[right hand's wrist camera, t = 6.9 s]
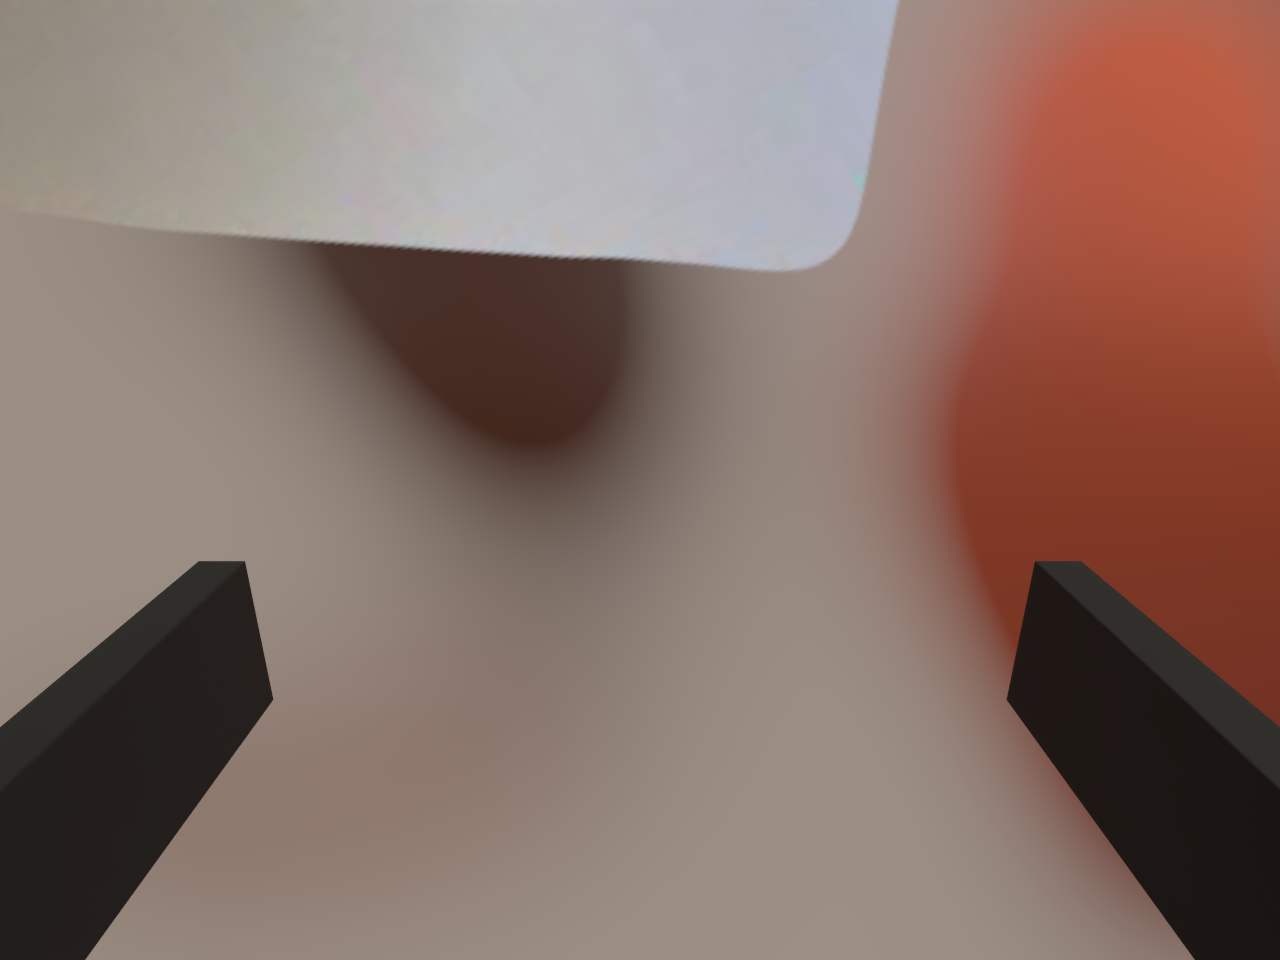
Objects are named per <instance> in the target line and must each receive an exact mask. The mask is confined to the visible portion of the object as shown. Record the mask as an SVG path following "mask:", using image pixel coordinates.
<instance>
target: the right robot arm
mask: <svg viewBox="0 0 1280 960" xmlns="http://www.w3.org/2000/svg"><path fill="white" fill-rule="evenodd" d="M272 701H273V696H272V691H271V686H270V681H269V677H268V672H267V667H266V662H265V657H264V652H263V647H262V642H261V637H260V633H259V628H258V623H257V618H256V613H255V608H254V603H253V598H252V594H251V589H250V584H249V579H248V574H247V569H246V564H245V561H199V562H197V563H196V564H195V565H194V566H193V567H192V568H190V569H189V570H188V571H187V572H185V573H184V574H183V575H182V576H181V577H180V578H178V579H177V580H176V581H175V582H174V583H172V584H171V585H170V586H169V587H168V588H166V589H165V590H164V591H163V592H162V593H160V594H159V595H158V596H157V597H156V598H154V599H153V600H152V601H151V602H150V603H148V604H147V605H146V606H145V607H144V608H142V609H141V610H140V611H139V612H138V613H136V614H135V615H134V616H133V617H132V618H130V619H129V620H128V621H127V622H126V623H124V624H123V625H122V626H121V627H120V628H119V629H117V630H116V631H115V632H114V633H113V634H111V635H110V636H109V637H108V638H107V639H105V640H104V641H103V642H102V643H101V644H99V645H98V646H97V647H96V648H95V649H93V650H92V651H91V652H90V653H89V654H87V655H86V656H85V657H84V658H83V659H81V660H80V661H79V662H78V663H77V664H75V665H74V666H73V667H72V668H71V669H69V670H68V671H67V672H66V673H65V674H63V675H62V676H61V677H60V678H59V679H57V680H56V681H55V682H54V683H53V684H51V685H50V686H49V687H48V688H47V689H45V690H44V691H43V692H42V693H41V694H40V695H38V696H37V697H36V698H35V699H34V700H32V701H31V702H30V703H29V704H28V705H26V706H25V707H24V708H23V709H22V710H20V711H19V712H18V713H17V714H16V715H14V716H13V717H12V718H11V719H10V720H8V721H7V722H6V723H5V724H4V725H2V726H1V727H0V960H85V959H86V958H87V956H88V955H89V954H90V952H91V951H92V949H93V948H94V947H95V945H96V944H97V943H98V941H99V940H100V938H101V937H102V936H103V934H104V933H105V932H106V930H107V929H108V927H109V926H110V925H111V923H112V922H113V920H114V919H115V918H116V916H117V915H118V914H119V912H120V911H121V909H122V908H123V907H124V905H125V904H126V903H127V901H128V900H129V898H130V897H131V896H132V894H133V893H134V891H135V890H136V889H137V887H138V886H139V884H140V883H141V882H142V880H143V879H144V877H145V876H146V875H147V873H148V872H149V871H150V869H151V868H152V867H153V865H154V864H155V862H156V861H157V860H158V858H159V857H160V856H161V854H162V853H163V851H164V850H165V849H166V847H167V846H168V844H169V843H170V842H171V840H172V839H173V838H174V836H175V835H176V833H177V832H178V831H179V829H180V828H181V826H182V825H183V824H184V822H185V821H186V820H187V818H188V817H189V815H190V814H191V813H192V811H193V810H194V809H195V807H196V806H197V804H198V803H199V802H200V800H201V799H202V797H203V796H204V795H205V793H206V792H207V791H208V789H209V788H210V786H211V785H212V784H213V782H214V781H215V779H216V778H217V777H218V775H219V774H220V772H221V771H222V770H223V768H224V767H225V766H226V764H227V763H228V762H229V760H230V759H231V757H232V756H233V755H234V753H235V752H236V750H237V749H238V748H239V746H240V745H241V744H242V742H243V741H244V739H245V738H246V737H247V735H248V734H249V732H250V731H251V730H252V728H253V727H254V726H255V724H256V723H257V721H258V720H259V719H260V717H261V716H262V715H263V713H264V712H265V710H266V709H267V707H268V706H269V705H270V703H271V702H272ZM1007 701H1008V702H1009V703H1010V705H1011V706H1012V708H1013V709H1014V710H1015V712H1016V713H1017V714H1018V716H1019V717H1020V719H1021V720H1022V721H1023V723H1024V724H1025V726H1026V727H1027V728H1028V730H1029V731H1030V732H1031V734H1032V735H1033V737H1034V738H1035V739H1036V741H1037V742H1038V743H1039V745H1040V746H1041V748H1042V749H1043V750H1044V752H1045V753H1046V754H1047V756H1048V757H1049V759H1050V760H1051V762H1052V763H1053V764H1054V766H1055V767H1056V768H1057V770H1058V771H1059V773H1060V774H1061V775H1062V777H1063V778H1064V779H1065V781H1066V782H1067V784H1068V785H1069V786H1070V788H1071V789H1072V790H1073V792H1074V793H1075V795H1076V796H1077V797H1078V799H1079V800H1080V802H1081V803H1082V804H1083V806H1084V807H1085V808H1086V810H1087V811H1088V813H1089V814H1090V815H1091V817H1092V818H1093V819H1094V821H1095V822H1096V824H1097V825H1098V826H1099V828H1100V829H1101V831H1102V832H1103V833H1104V835H1105V836H1106V838H1107V839H1108V840H1109V842H1110V843H1111V844H1112V846H1113V847H1114V849H1115V850H1116V851H1117V853H1118V854H1119V855H1120V857H1121V858H1122V860H1123V861H1124V862H1125V864H1126V865H1127V867H1128V868H1129V869H1130V871H1131V872H1132V873H1133V875H1134V876H1135V878H1136V879H1137V880H1138V882H1139V883H1140V884H1141V886H1142V887H1143V889H1144V890H1145V891H1146V893H1147V894H1148V896H1149V897H1150V898H1151V900H1152V901H1153V902H1154V904H1155V905H1156V907H1157V908H1158V909H1159V911H1160V912H1161V913H1162V915H1163V916H1164V918H1165V919H1166V920H1167V922H1168V923H1169V925H1170V926H1171V927H1172V929H1173V930H1174V932H1175V933H1176V934H1177V936H1178V937H1179V938H1180V940H1181V941H1182V943H1183V944H1184V945H1185V947H1186V948H1187V950H1188V951H1189V952H1190V954H1191V955H1192V956H1193V958H1194V959H1195V960H1280V727H1279V726H1278V725H1276V724H1275V723H1274V722H1273V721H1272V720H1270V719H1269V718H1268V717H1267V716H1266V715H1264V714H1263V713H1262V712H1261V711H1260V710H1258V709H1257V708H1256V707H1255V706H1254V705H1252V704H1251V703H1250V702H1249V701H1248V700H1246V699H1245V698H1244V697H1243V696H1242V695H1240V694H1239V693H1238V692H1237V691H1236V690H1235V689H1233V688H1232V687H1231V686H1230V685H1228V684H1227V683H1226V682H1225V681H1224V680H1223V679H1221V678H1220V677H1219V676H1218V675H1217V674H1215V673H1214V672H1213V671H1212V670H1211V669H1209V668H1208V667H1207V666H1206V665H1204V664H1203V663H1202V662H1201V661H1200V660H1199V659H1197V658H1196V657H1195V656H1194V655H1193V654H1191V653H1190V652H1189V651H1188V650H1187V649H1185V648H1184V647H1183V646H1182V645H1181V644H1179V643H1178V642H1177V641H1176V640H1175V639H1173V638H1172V637H1171V636H1170V635H1169V634H1168V633H1166V632H1165V631H1164V630H1163V629H1162V628H1160V627H1159V626H1158V625H1157V624H1156V623H1154V622H1153V621H1152V620H1151V619H1150V618H1148V617H1147V616H1146V615H1145V614H1144V613H1142V612H1141V611H1140V610H1139V609H1138V608H1136V607H1135V606H1134V605H1133V604H1132V603H1130V602H1129V601H1128V600H1127V599H1126V598H1124V597H1123V596H1122V595H1121V594H1120V593H1118V592H1117V591H1116V590H1115V589H1114V588H1112V587H1111V586H1110V585H1109V584H1108V583H1106V582H1105V581H1104V580H1103V579H1102V578H1100V577H1099V576H1098V575H1097V574H1096V573H1095V572H1093V571H1092V570H1091V569H1090V568H1089V567H1087V566H1086V565H1085V564H1084V563H1083V562H1081V561H1035V564H1034V569H1033V574H1032V579H1031V584H1030V589H1029V594H1028V598H1027V603H1026V608H1025V613H1024V618H1023V623H1022V628H1021V633H1020V638H1019V642H1018V647H1017V652H1016V657H1015V662H1014V667H1013V672H1012V677H1011V681H1010V686H1009V691H1008V696H1007Z"/></svg>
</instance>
